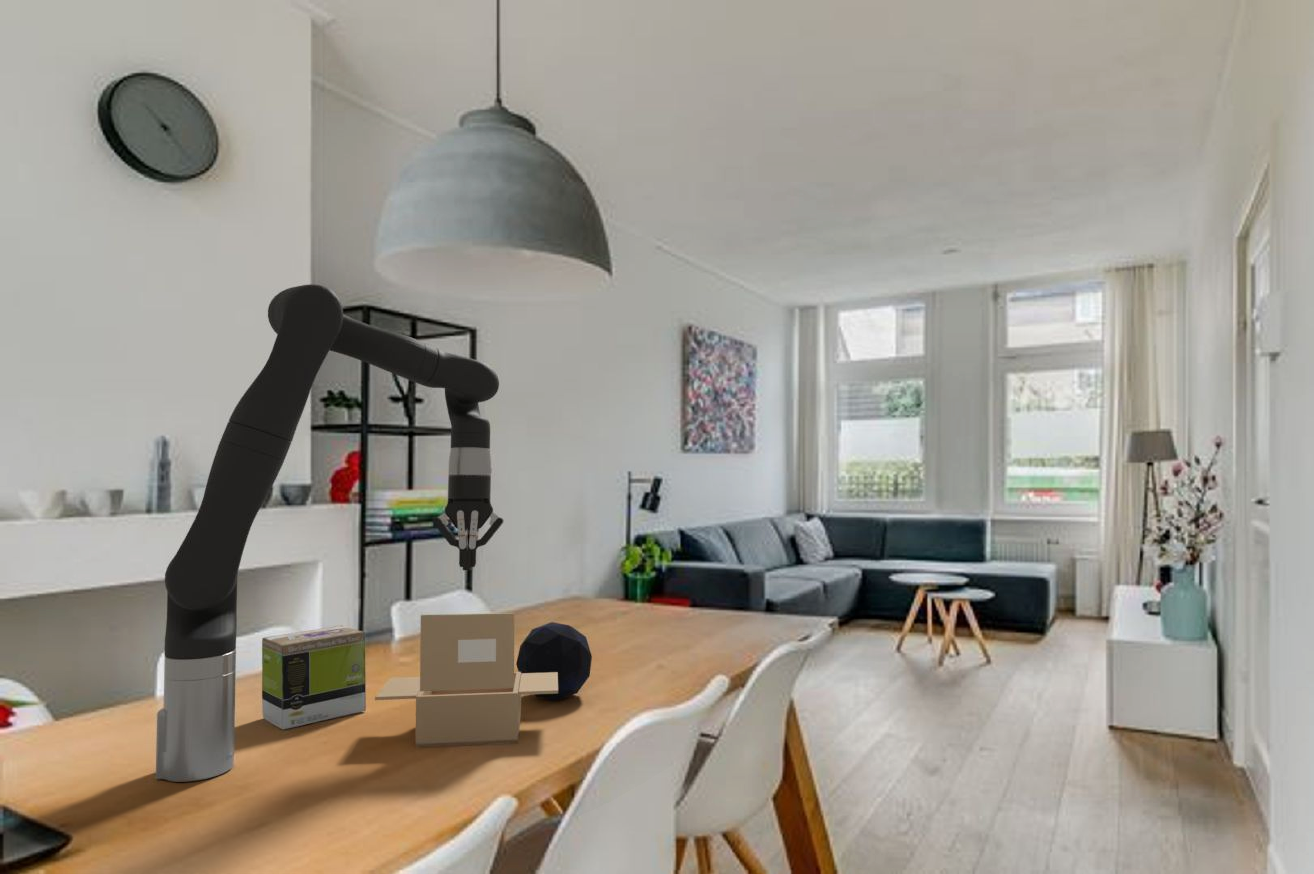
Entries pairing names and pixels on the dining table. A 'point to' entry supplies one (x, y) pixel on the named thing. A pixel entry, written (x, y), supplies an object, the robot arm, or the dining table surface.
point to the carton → (468, 710)
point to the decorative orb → (557, 657)
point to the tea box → (313, 676)
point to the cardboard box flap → (467, 651)
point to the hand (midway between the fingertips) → (467, 569)
